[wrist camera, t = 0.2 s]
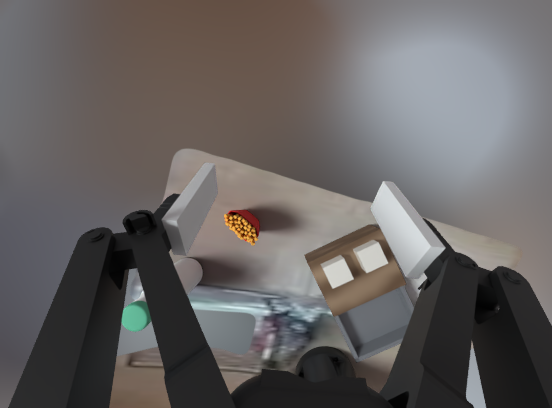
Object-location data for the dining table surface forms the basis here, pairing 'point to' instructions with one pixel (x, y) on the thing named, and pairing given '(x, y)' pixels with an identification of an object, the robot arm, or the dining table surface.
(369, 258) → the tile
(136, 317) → the milk bottle
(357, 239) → the walnut platform
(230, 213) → the french fries
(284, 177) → the dining table surface
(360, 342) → the box
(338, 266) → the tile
